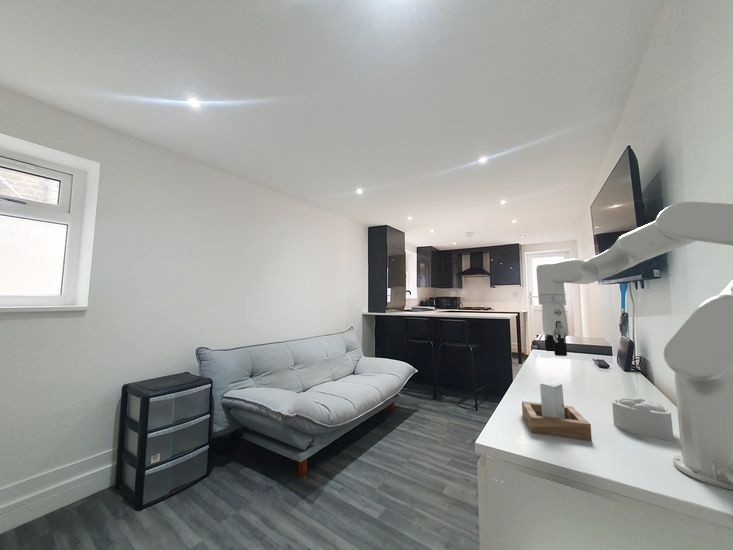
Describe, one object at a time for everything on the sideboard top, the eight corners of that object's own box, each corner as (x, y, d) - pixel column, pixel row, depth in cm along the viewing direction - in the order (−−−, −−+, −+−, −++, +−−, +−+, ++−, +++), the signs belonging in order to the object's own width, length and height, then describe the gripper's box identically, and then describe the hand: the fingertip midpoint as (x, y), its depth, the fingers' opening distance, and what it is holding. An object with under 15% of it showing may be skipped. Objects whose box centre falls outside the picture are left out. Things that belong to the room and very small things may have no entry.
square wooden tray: (591, 440, 81) (590, 424, 82) (531, 432, 86) (531, 417, 87) (573, 420, 95) (572, 406, 96) (522, 414, 100) (521, 401, 101)
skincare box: (557, 427, 87) (554, 386, 89) (541, 422, 91) (539, 383, 92) (566, 423, 91) (563, 383, 92) (550, 418, 95) (548, 380, 96)
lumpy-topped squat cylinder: (675, 442, 81) (672, 410, 82) (614, 429, 89) (612, 400, 90) (667, 429, 89) (665, 400, 90) (612, 419, 97) (610, 392, 98)
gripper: (575, 299, 86) (580, 358, 84) (556, 300, 102) (560, 350, 100) (546, 299, 88) (550, 357, 86) (532, 300, 104) (535, 349, 102)
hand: (555, 353), depth 93 cm, fingers open, 9 cm apart
